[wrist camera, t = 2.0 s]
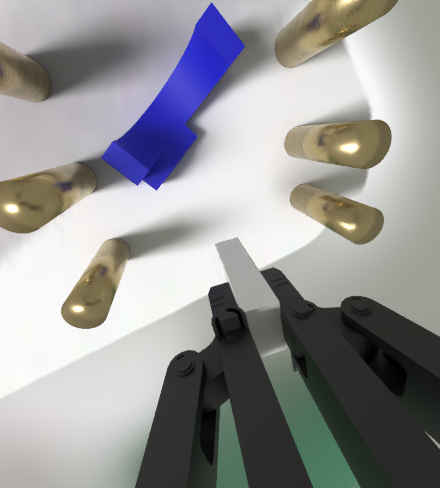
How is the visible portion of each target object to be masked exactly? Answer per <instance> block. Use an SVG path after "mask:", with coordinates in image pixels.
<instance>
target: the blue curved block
mask: <svg viewBox="0 0 440 488" xmlns="http://www.w3.org/2000/svg"><path fill="white" fill-rule="evenodd" d="M244 47H245V46H244V44H243V43H242V42H241V40H240V39H239V38H238V36H237V35H236V34H235V32H234V31H233V30H232V29H231V27H230V26H229V25H228V23H227V22H226V21H225V19H224V18H223V17H222V15H221V14H220V13H219V11H218V10H217V9H216V7H215V6H214V5H213V3H212V2H211V4H210V5H209V7H208V8H207V9H206V11H205V12H204V14H203V15H202V16H201V18H200V19H199V21H198V22H197V24H196V26H195V29H194V32H193V35H192V37H191V40H190V42H189V44H188V46H187V48H186V50H185V52H184V54H183V56H182V58H181V59H180V61H179V63H178V65H177V66H176V68H175V70H174V71H173V73H172V75H171V76H170V78H169V79H168V81H167V82H166V84H165V85H164V87H163V88H162V90H161V91H160V93H159V94H158V95H157V97H156V98H155V100H154V101H153V102H152V104H151V105H150V106H149V108H148V109H147V110H146V111H145V113H144V114H143V115H142V116H141V117H140V119H139V120H138V121H137V122H136V123H135V124H134V125H133V126H132V128H131V129H130V130H129V131H128V132H126V133H125V134H124V135H123V136H122V137H121V138H119V139H118V140H116V141H113V142H112V143H111V145H110V146H109V148H108V149H107V150H106V152H105V153H104V155H103V156H102V158H101V159H103V160H104V161H105V162H107V163H108V164H109V165H111V166H112V167H113V168H115V169H116V170H117V171H119V172H120V173H121V174H122V175H124V176H125V177H126V178H128V179H129V180H130V181H132V182H133V183H134V184H136V185H137V186H138V185H139V183H140V182H141V181H142V180H143V181H145V182H146V183H147V184H149V185H150V186H151V187H152V188H154V189H155V190H156V191H157V189H158V188H159V187H160V186H161V184H162V183H163V182H164V181H165V179H166V178H167V177H168V176H169V174H170V173H171V172H172V171H173V169H174V168H175V167H176V165H177V164H178V162H179V161H180V160H181V158H182V157H183V155H184V154H185V153H186V151H187V150H188V149H189V147H190V146H191V145H192V144H193V142H194V141H195V140H196V138H197V136H196V135H195V134H194V133H193V132H192V131H191V130H190V129H189V128H188V127H187V126H186V125H185V123H186V122H187V121H188V120H189V118H190V117H191V116H192V114H193V113H194V112H195V110H196V109H197V108H198V107H199V105H200V104H201V103H202V101H203V100H204V99H205V98H206V96H207V95H208V94H209V92H210V91H211V90H212V89H213V87H214V86H215V85H216V83H217V82H218V81H219V79H220V78H221V77H222V76H223V74H224V73H225V72H226V71H227V69H228V68H229V67H230V65H231V64H232V63H233V62H234V60H235V59H236V58H237V56H238V55H239V54H240V52H241V51H242V50H243V49H244Z"/></svg>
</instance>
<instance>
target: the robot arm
mask: <svg viewBox="0 0 440 488" xmlns="http://www.w3.org/2000/svg"><path fill="white" fill-rule="evenodd" d="M215 246H216V249H217V253H218V257H219V260H220V264H221V267H222V271H223V275H224V278H225V281H226V283H223V284H220V285H217V286H214V287H211V288H210V291H209V293H208V296H209V300H210V305H211V310H212V314H213V317H212V327H213V330H214V332H215V338H214V340H213V342H212V343H211V344H210V345H209V346H208V347H207V348H205V349H204V350H202V351H201V352H199V353H197V352H196V351H192V350H187V351H184V352H181V353H180V354H178V355H176V356H175V357H174V358H173V359H172V361H171V362H170V364H169V366H168V368H167V372H166V376H165V379H164V383H163V387H162V390H161V394H160V398H159V401H158V405H157V409H156V412H155V416H154V420H153V424H152V427H151V431H150V434H149V438H148V442H147V445H146V449H145V453H144V457H143V460H142V464H141V468H140V471H139V475H138V479H137V482H136V486H135V488H216V481H217V460H218V440H219V418H220V405H222V404H223V403H224V402H226V401H227V400H228V399H229V398H230V402H231V406H232V411H233V416H234V420H235V425H236V430H237V434H238V439H239V444H240V447H241V453H242V457H243V462H244V467H245V471H246V476H247V480H248V485H249V488H313V486H312V484H311V481H310V479H309V476H308V474H307V471H306V469H305V466H304V464H303V461H302V459H301V456H300V454H299V451H298V449H297V446H296V444H295V441H294V439H293V436H292V434H291V432H290V429H289V426H288V424H287V422H286V419H285V416H284V414H283V411H282V409H281V407H280V404H279V402H278V399H277V397H276V394H275V392H274V389H273V387H272V384H271V382H270V379H269V377H268V374H267V372H266V369H265V367H264V365H263V362H262V359H261V357H264V356H267V355H270V354H273V353H276V352H279V351H282V350H285V349H287V348H286V343H287V345H288V347H289V348H290V351H291V358H292V364H293V369H294V372H295V371H297V370H296V368H297V369H298V371H299V373H300V375H301V377H302V379H303V381H304V383H305V384H306V386H307V388H308V390H309V392H310V394H311V396H312V397H313V399H314V401H315V403H316V405H317V407H318V409H319V411H320V413H321V414H322V416H323V418H324V420H325V422H326V424H327V426H328V427H329V429H330V431H331V433H332V435H333V437H334V439H335V440H336V442H337V444H338V446H339V448H340V450H341V452H342V454H343V456H344V457H345V459H346V461H347V463H348V465H349V467H350V469H351V471H352V472H353V474H354V476H355V478H356V480H357V482H358V484H359V486H360V487H361V488H440V449H439V448H438V447H437V445H436V444H435V443H434V442H433V441H432V440H431V439H430V437H429V436H428V435H427V434H426V433H428V434H429V435H430V436H431V437H432V438H433V439H434V440H436V441H437V442H438V443H439V444H440V337H439V336H438V335H436V334H434V333H432V332H430V331H428V330H427V329H425V328H423V327H421V326H419V325H418V324H416V323H414V322H412V321H410V320H409V319H406V318H405V317H403V316H401V315H399V314H398V313H396V312H394V311H392V310H390V309H389V308H386V307H385V306H383V305H381V304H379V303H378V302H376V301H374V300H372V299H369V298H367V297H362V296H351V297H348V298H345V300H343V301H342V303H341V307H335V308H320V307H317V306H316V305H315V304H314V303H312V302H309V301H307V300H304V299H303V297H302V296H301V295H300V294H299V292H298V291H297V290H296V289H295V288H294V286H293V285H292V284H291V283H290V281H289V280H288V279H287V278H286V276H285V275H284V274H283V273H282V272H281V271H280V270H278V269H276V268H274V267H273V268H270V269H267V270H264V271H259V270H258V268H257V267H256V265H255V263H254V262H253V260H252V259H251V257H250V256H249V254H248V253H247V251H246V250H245V248H244V247H243V245H242V244H241V242H240V240H239V239H238V237H237V238H234V239H230V240H227V241H223V242H220V243H217V244H215ZM285 341H286V342H285ZM425 432H426V433H425Z"/></svg>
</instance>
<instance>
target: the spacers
mask: <svg viewBox="0 0 440 488" xmlns="http://www.w3.org/2000/svg"><path fill="white" fill-rule="evenodd" d="M397 1H398V0H312V1H311V2H310V3H309V4H308V5H307V6H306V7H305V8H304V9H303V10H302V11H301V12H300V13H299V14H298V15H297V16H296V17H295V18H294V19H293V20H292V21H291V22H290V23H289V24H288V25H287V26H286V27H285V28H284V29H283V30H282V31H281V32H280V33H279V35H278V37H277V39H276V43H275V54H276V57H277V60H278V61H279V63H280V64H281V65H282V66H284V67H287V68H292V67H295V66H297V65H299V64H300V63H302V62H304V61H306V60H307V59H309V58H311V57H312V56H314V55H316V54H318V53H319V52H321V51H323V50H325V49H326V48H328V47H330V46H331V45H333V44H335V43H337V42H338V41H340V40H342V39H344V38H345V37H347V36H349V35H350V34H352V33H354V32H356V31H357V30H359V29H361V28H363V27H364V26H366V25H368V24H370V23H371V22H373V21H375V20H376V19H378V18H380V17H382V16H383V15H385V14H386V13H388V12H389V11H390V10H391V9H392V8H393V7H394V6H395V4H396V3H397ZM50 91H51V82H50V79H49V76H48V74H47V72H46V71H45V70H44V68H43V67H42V66H41V65H40V64H39V63H37V62H36V61H34V60H32V59H31V58H29V57H27V56H25V55H23V54H22V53H20V52H18V51H16V50H14V49H12V48H11V47H9V46H7V45H5V44H3V43H2V42H0V94H3V95H7V96H11V97H15V98H19V99H23V100H27V101H31V102H41V101H43V100H45V99H46V98H47V97H48V96H49V94H50ZM390 144H391V130H390V128H389V126H388V125H387V123H385V122H384V121H381V120H367V121H355V122H343V123H331V124H320V125H308V126H298V127H295V128H293V129H292V130H290V131H289V133H288V134H287V136H286V138H285V150H286V152H287V153H288V155H290V156H291V157H295V158H301V159H307V160H312V161H318V162H324V163H330V164H336V165H342V166H348V167H354V168H360V169H368V168H372V167H374V166H375V165H377V164H378V163H380V162H381V160H382V159H383V158H384V157H385V155H386V154H387V152H388V150H389V147H390ZM96 185H97V180H96V176H95V174H94V173H93V171H92V170H91V169H90V168H88V167H87V166H85V165H83V164H80V163H72V164H68V165H64V166H60V167H56V168H52V169H49V170H45V171H41V172H37V173H33V174H29V175H26V176H22V177H18V178H14V179H10V180H6V181H2V182H0V227H2V228H4V229H6V230H8V231H11V232H15V233H30V232H34V231H36V230H38V229H39V228H41V227H42V226H44V225H45V224H46V223H48V222H49V221H51V220H52V219H54V218H55V217H57V216H58V215H60V214H61V213H63V212H64V211H66V210H67V209H68V208H70V207H71V206H73V205H74V204H76V203H77V202H79V201H80V200H82V199H83V198H85V197H86V196H88V195H89V194H90V193H92V192H93V191H94V190H95V188H96ZM290 203H291V205H292V206H293V207H294V208H295V209H297V210H298V211H300V212H302V213H304V214H305V215H307V216H309V217H310V218H312V219H314V220H315V221H317V222H319V223H321V224H322V225H324V226H326V227H327V228H329V229H331V230H332V231H334V232H336V233H338V234H339V235H341V236H343V237H344V238H346V239H348V240H350V241H351V242H353V243H355V244H365V243H368V242H370V241H372V240H373V239H374V238H375V237H376V236H377V235H378V234H379V233H380V231H381V229H382V227H383V223H384V217H383V214H382V212H381V211H380V210H378V209H376V208H373V207H370V206H367V205H364V204H362V203H359V202H356V201H353V200H350V199H347V198H345V197H342V196H339V195H336V194H333V193H330V192H328V191H325V190H322V189H319V188H316V187H313V186H311V185H308V184H301V185H299V186H297V187H296V188H295V189H294V190H293V191H292V193H291V196H290ZM129 255H130V249H129V247H128V245H127V244H126V243H125V242H123V241H121V240H118V239H110V240H107V241H106V242H104V243H103V245H102V246H101V248H100V249H99V251H98V252H97V254H96V255H95V257H94V258H93V260H92V261H91V263H90V264H89V266H88V267H87V269H86V270H85V272H84V273H83V275H82V276H81V278H80V279H79V281H78V283H77V284H76V286H75V287H74V289H73V290H72V292H71V293H70V295H69V296H68V298H67V299H66V301H65V302H64V304H63V306H62V308H61V314H62V317H63V319H64V320H65V321H66V322H67V323H68V324H70V325H72V326H74V327H77V328H82V329H90V328H95V327H97V326H99V325H101V324H102V323H103V322H104V321H105V320H106V318H107V315H108V312H109V310H110V307H111V304H112V301H113V299H114V296H115V293H116V291H117V288H118V285H119V283H120V280H121V277H122V274H123V272H124V269H125V266H126V264H127V261H128V258H129Z"/></svg>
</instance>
